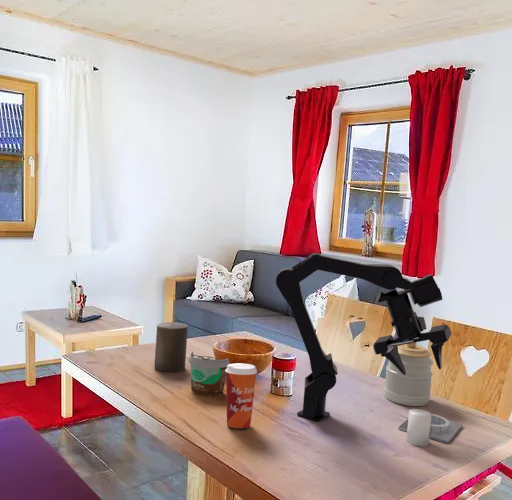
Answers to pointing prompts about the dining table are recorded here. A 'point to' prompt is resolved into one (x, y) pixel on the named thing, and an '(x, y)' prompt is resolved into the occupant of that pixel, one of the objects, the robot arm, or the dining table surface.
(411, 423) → the cylinder
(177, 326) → the pillar candle
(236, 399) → the paper cup
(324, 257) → the robot arm
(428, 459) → the dining table surface
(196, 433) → the dining table surface
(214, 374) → the food container
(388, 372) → the jar
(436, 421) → the plate
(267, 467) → the dining table surface
